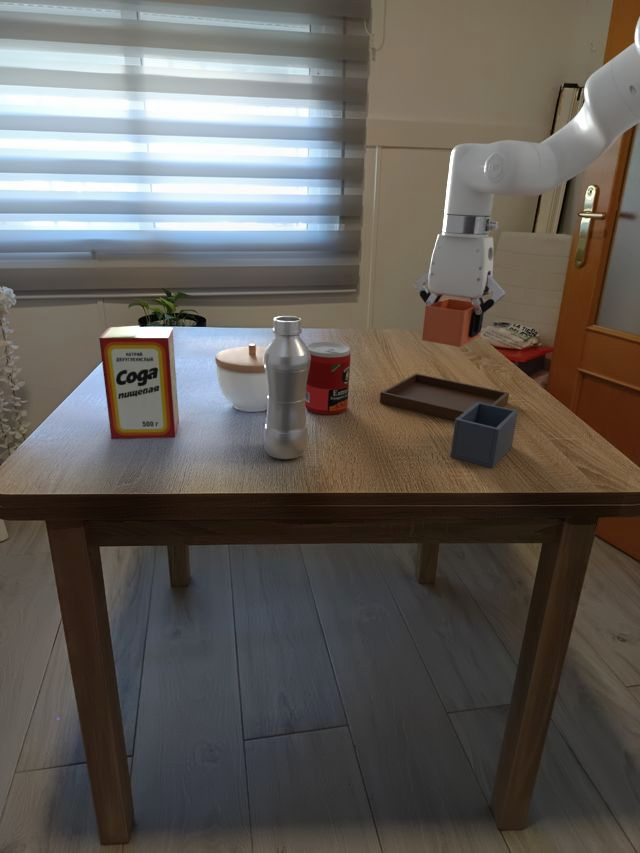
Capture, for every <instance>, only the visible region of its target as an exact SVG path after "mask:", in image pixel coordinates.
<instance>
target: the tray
mask: <svg viewBox="0 0 640 853" xmlns="http://www.w3.org/2000/svg"><path fill="white" fill-rule="evenodd" d="M509 397H510V392H507V391H502V390H498V389H493V388H487V387H483V386H478V385H475V384H474V385H473V384H468V383H464V382H461V381H460V382H459V381H455V380H449V379H446V378H440V377H435V376H430V375H426V374H422V373H416V372H415V373H413V374H411V375H410V376H408V377H406V378H404V379H402V380H400V381H399V382H397V383H395V384H393V385H391V386H390V387H388V388H385V389H384V390H382V391H380V392H379V403H380V404H385V405H389V406H393V407H396V408H400V409H405V410H409V411H412V412H416V413H421V414H425V415H429V416H432V417H438V418H442V419H444V420H445V419H446V420H450V421H454V422H455V419H456V418H458V417H459V416H460V415H461V414H463V413H464V412H465V411H466V410H468V409H469V408H470V407H471V406H473V405H474V404H475V403H476V402H480V403H485V404H490V405H494V406H499V407H503V408H504V407H505V406H506V405H507V404H508V402H509Z"/></svg>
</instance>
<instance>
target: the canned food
mask: <svg viewBox="0 0 640 853" xmlns="http://www.w3.org/2000/svg"><path fill="white" fill-rule="evenodd" d="M306 346H307V348H308V350H309V352H310V356H311V360H310V367H309V373H308V379H307V386H306V394H305V396H306V398H305V410H308V411H309V412H311V413H313V414H317V415H323V416H333V415H338V414H342V413H345V411H346V410H347V408H348V405H349V388H350V371H351V354H352V352H351V348H350V347H349V346H348V345H346V344H343V343H338V342H331V341H330V342H329V341H319V342H311V343H309V344H306Z"/></svg>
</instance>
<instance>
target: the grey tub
mask: <svg viewBox="0 0 640 853" xmlns="http://www.w3.org/2000/svg"><path fill="white" fill-rule="evenodd" d="M518 413H519V410H516V409H512V408H507V407H504V406H503V407H499V406H494V405H490V404H485V403H480V402H476V403H475V404H474V405H473V406H471V407H470V408H469V409H468V410H466V411H465V412H464V413H463V414H461V415H460V416H459V417H458V418H456V419H455V421H454V427H453V433H452V434H453V435H452V443H451V450H450V457H451V458H454V459H458V460H462V461H465V462H469V463H472V464H476V465H480V466H484V467H487V468H491V469H493V468H494V467H495V466H496V465H497V464H498V463H499V462H500V460H502V458H503V457H504V456H505V455H506V454H507V453H508V451H509V450H511V448H512V447H513V442H514V436H515V431H516V425H517V418H518Z"/></svg>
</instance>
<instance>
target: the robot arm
mask: <svg viewBox="0 0 640 853" xmlns="http://www.w3.org/2000/svg"><path fill="white" fill-rule="evenodd" d="M583 97H584V102H583V105H582V107H581V108H580V109H579V111H578V112H577V114H576V115H575V116H574V117H573V118H572V119H571V120H570V121H568V123H566V124H565V125H564V126H562V128H560V129H559V130H557V131H555V132H554V133H553V134H551V135H550V136H549V137H547V138H545V139H544V140H543V141H541V142H540V143H538V142H533V141H526V140H525V141H523V140H522V141H521V140H515V139H506V140H497V141H494V142H491V143H476V142H475V143H474V142H473V143H470V142H469V143H467V142H466V143H460V144H457V145H455V146H454V147H453V149H452V150H451V154H450V157H449V158H450V159H449V167H448V176H447V183H446V184H447V185H446V193H445V203H444V211H443V212H444V214H443V219H442V230H441V233H438V234H437V237H436V241H435V244H434V248H433V250H432V251H433V252H432V254H431V260H430V265H429V270H428V271H427V272H425V273H424V274H423V275H421V276H420V277H419V278H417V279H416V280H415V281H414V282H413V285H414V287H415V289H416V291H417V292H418V293H419V297H420V298H421V300H422V301H423V302H424V304H425V307H426V306H427V305H430V304H433V303H436V302H438V301H441V300H442V297H443V296H449V297H457V298H463V299H470V301H471V302H472V305H473V308H474V314H472V315H471V322H470V329H469V337H472V338H473V337H475V336H476V335H478V333H479V332H480V333H481V331H482V328H483V320H484V316H485V315H484V314H485V313H486V312H487V311H489V310H490V309H491V308H493V307H494V306H495V305H496V304H497V303H498V302H499V301H500V300H501V299H503V297H505V295H506V291H505V290H504V289H503V288H502V286H500V284H499V283H498V282H497V281H496V280H495V279H494V277H493V274H494V273H493V272H494V252H495V250H494V237H493V236H489V234H490V233H491V231H497V230H498V228H499V221H496V220H494V219H493V216H492V210H493V203H494V198H495V196H504V197H505V196H507V197H517V196H518V197H520V196H521V197H537V196H541V195H544V194H547V193H549V192H551V191H553V190H554V189H556V188H558V187H560V186H561V185H563V184H565V183H566V182H568V181H569V180H571V179H573V178H574V177H576V176H577V175H579V174H580V173H582V172H584V171H585V170H586V169H588V168H589V167H591V166H592V165H593V164H594V163H596V162H597V160H599V159H600V158H601V157H602V156H603V155H604V154H605V153H606V152H607V151H608V150H609V149H610V148H611V147H612V146H613V145H614V144H615V142H616V141H617V140H618V139H619V137H621V135H623V134H624V133H626V132H627V131H628V130H630V129H631V128H633V127H634V126H636V125H637V124H639V123H640V16H639V17H638V20H637V22H636V26H635V30H634V42H633V43H632V44H630V45H629V46H628V47H626V48H625V49H624V50H623V51H621V52H620V53H619V54H617V55H616V56H614V57H613V58H611V59H610V60H609V61H608V62H606V63H605V64H604V65H602V66H601V67H599V68H598V69H597V70H595V71H594V72H593V73H591V74H590V76H589V77H588V78H587V80H586V81H585V84H584V89H583ZM426 284H427V286H426ZM490 292H491V293H492V295H491V296H490V298H488V299H486V301H485V298H484V296H487V295H489V294H490Z"/></svg>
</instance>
